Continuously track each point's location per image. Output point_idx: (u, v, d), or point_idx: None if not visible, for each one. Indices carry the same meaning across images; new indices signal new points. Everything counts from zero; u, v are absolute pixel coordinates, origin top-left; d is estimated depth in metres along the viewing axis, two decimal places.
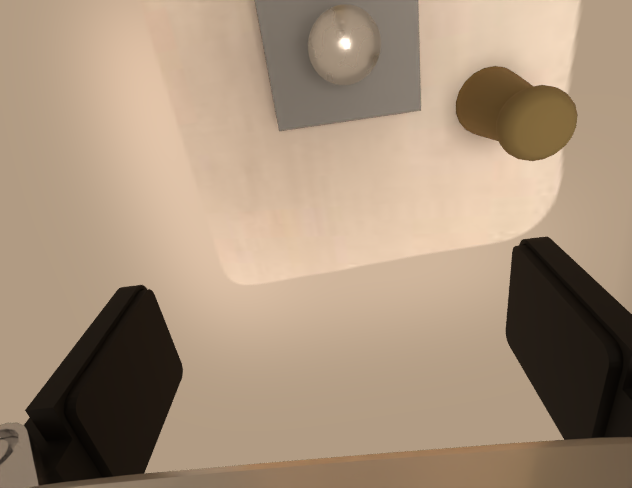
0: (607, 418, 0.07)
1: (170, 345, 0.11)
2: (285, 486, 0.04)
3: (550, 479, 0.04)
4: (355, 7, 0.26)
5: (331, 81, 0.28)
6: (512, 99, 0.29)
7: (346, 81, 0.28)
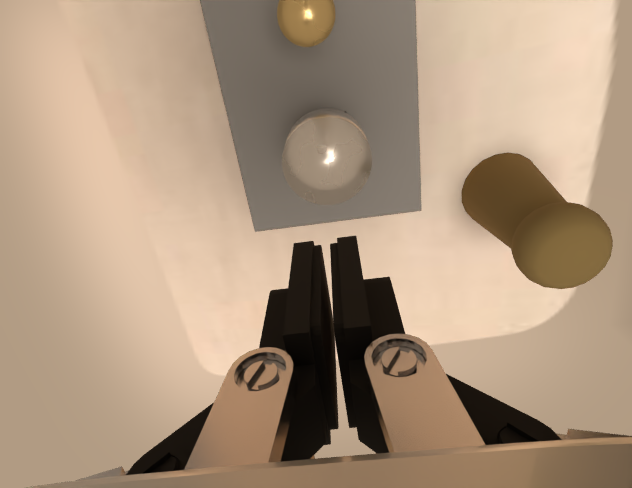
0: (349, 386, 0.08)
1: (329, 300, 0.12)
2: (285, 486, 0.04)
3: (550, 479, 0.04)
4: (339, 120, 0.21)
5: (311, 201, 0.23)
6: (532, 220, 0.24)
7: (330, 201, 0.23)
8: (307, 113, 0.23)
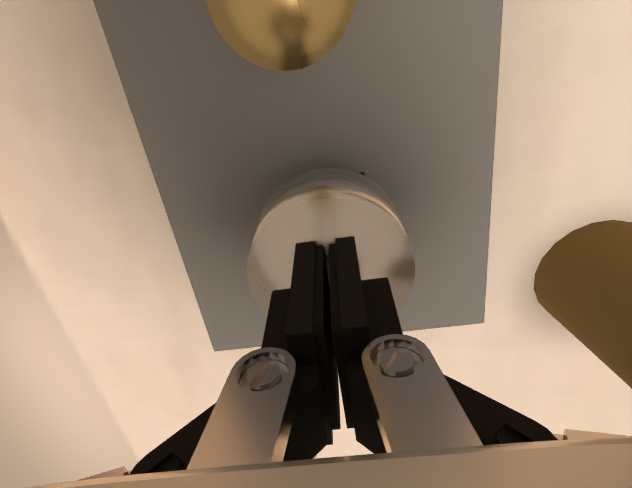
0: (346, 386, 0.08)
1: None
2: (285, 486, 0.04)
3: (550, 479, 0.04)
4: (356, 204, 0.11)
5: None
6: None
7: None
8: (295, 177, 0.13)
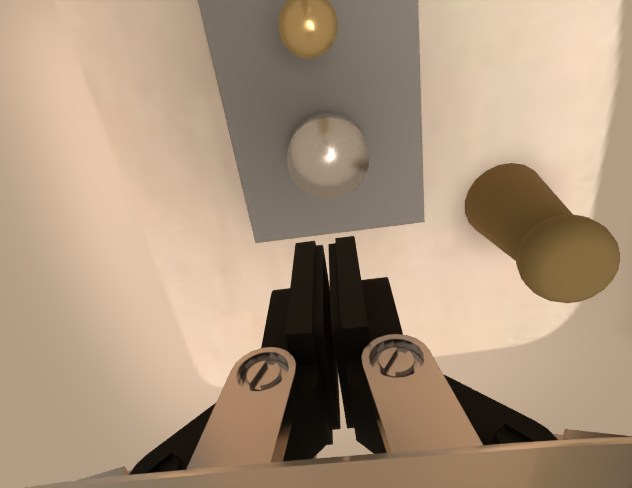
0: (346, 386, 0.08)
1: None
2: (285, 486, 0.04)
3: (550, 479, 0.04)
4: (339, 121, 0.23)
5: (314, 195, 0.25)
6: (538, 233, 0.23)
7: (330, 195, 0.25)
8: (310, 115, 0.25)
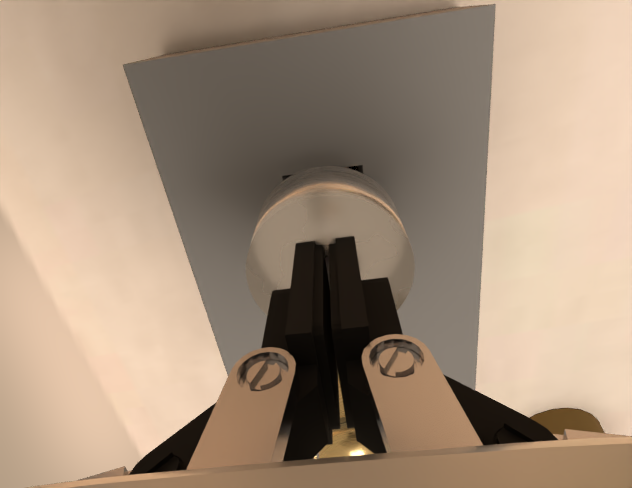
0: (347, 386, 0.08)
1: None
2: (285, 486, 0.04)
3: (550, 480, 0.04)
4: None
5: None
6: None
7: None
8: None
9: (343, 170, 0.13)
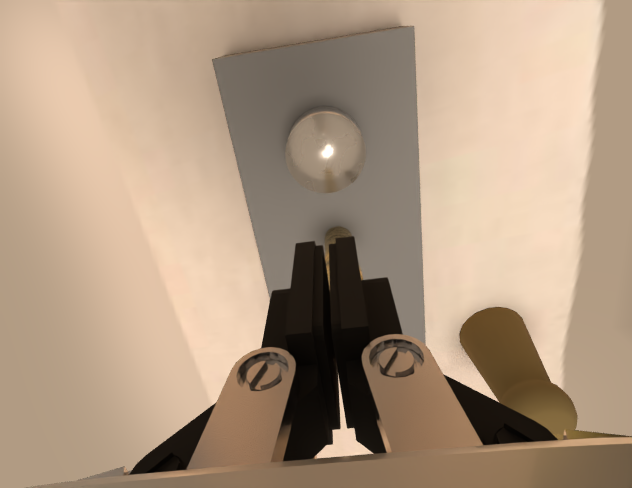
0: (347, 386, 0.08)
1: None
2: (285, 486, 0.04)
3: (550, 480, 0.04)
4: None
5: None
6: (514, 397, 0.30)
7: None
8: None
9: (332, 107, 0.26)
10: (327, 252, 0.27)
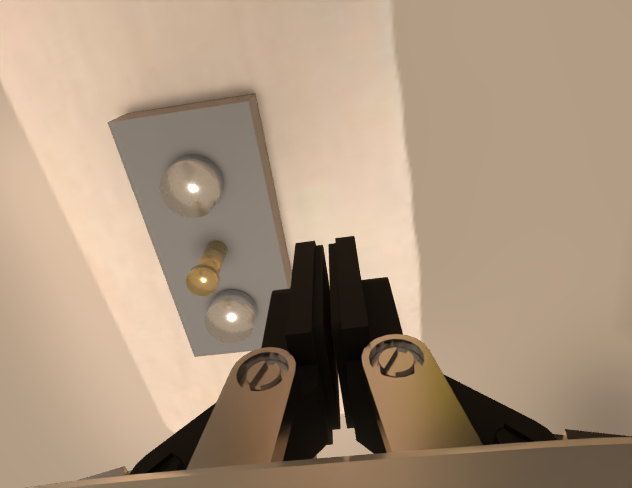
0: (346, 386, 0.08)
1: None
2: (285, 486, 0.04)
3: (550, 479, 0.04)
4: (233, 305, 0.40)
5: (223, 341, 0.42)
6: None
7: (233, 341, 0.42)
8: (220, 292, 0.42)
9: (196, 156, 0.35)
10: None
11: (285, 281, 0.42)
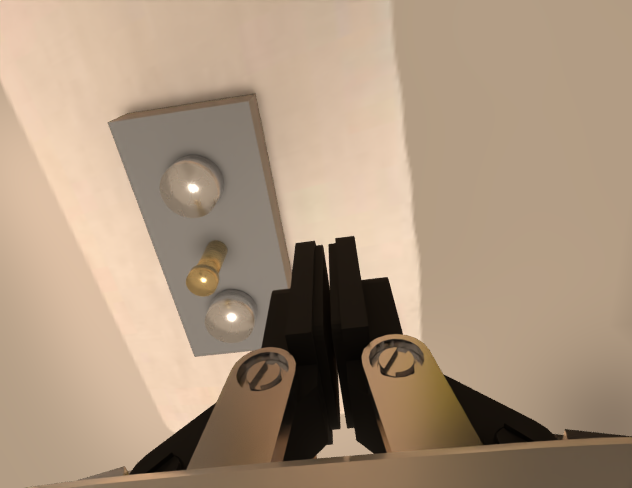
0: (346, 386, 0.08)
1: None
2: (285, 486, 0.04)
3: (550, 480, 0.04)
4: (233, 305, 0.40)
5: (223, 341, 0.42)
6: None
7: (233, 341, 0.42)
8: (220, 292, 0.42)
9: (196, 156, 0.35)
10: None
11: (285, 281, 0.42)
